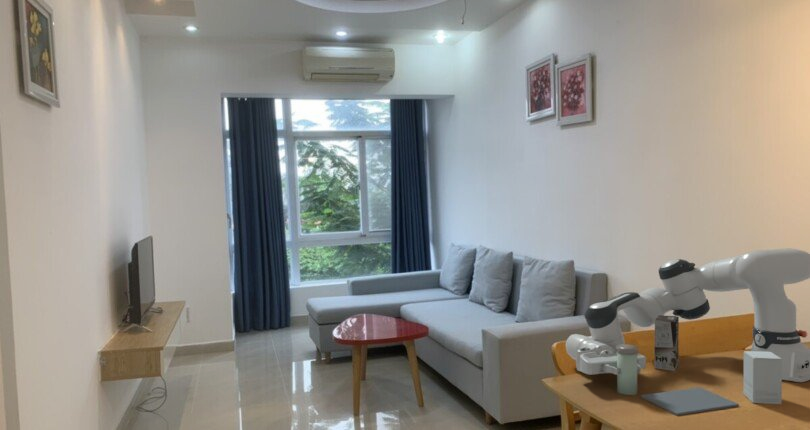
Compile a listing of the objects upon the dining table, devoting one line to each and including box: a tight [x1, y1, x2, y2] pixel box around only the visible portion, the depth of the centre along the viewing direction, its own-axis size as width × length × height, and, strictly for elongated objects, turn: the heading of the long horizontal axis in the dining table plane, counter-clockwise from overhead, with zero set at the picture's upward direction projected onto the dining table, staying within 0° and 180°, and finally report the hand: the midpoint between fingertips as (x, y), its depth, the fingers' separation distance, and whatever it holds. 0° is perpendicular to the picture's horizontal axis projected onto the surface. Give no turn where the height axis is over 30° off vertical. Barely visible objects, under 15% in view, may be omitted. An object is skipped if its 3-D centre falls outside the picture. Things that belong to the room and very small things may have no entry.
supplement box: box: [743, 350, 783, 405], centre depth 163 cm, size 7×7×13 cm
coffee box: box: [654, 315, 680, 372], centre depth 194 cm, size 9×6×16 cm
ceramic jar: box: [616, 343, 639, 396], centre depth 171 cm, size 6×6×13 cm
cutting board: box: [640, 386, 740, 416], centre depth 163 cm, size 20×14×1 cm
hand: (628, 370), depth 170 cm, fingers closed on ceramic jar, 5 cm apart
